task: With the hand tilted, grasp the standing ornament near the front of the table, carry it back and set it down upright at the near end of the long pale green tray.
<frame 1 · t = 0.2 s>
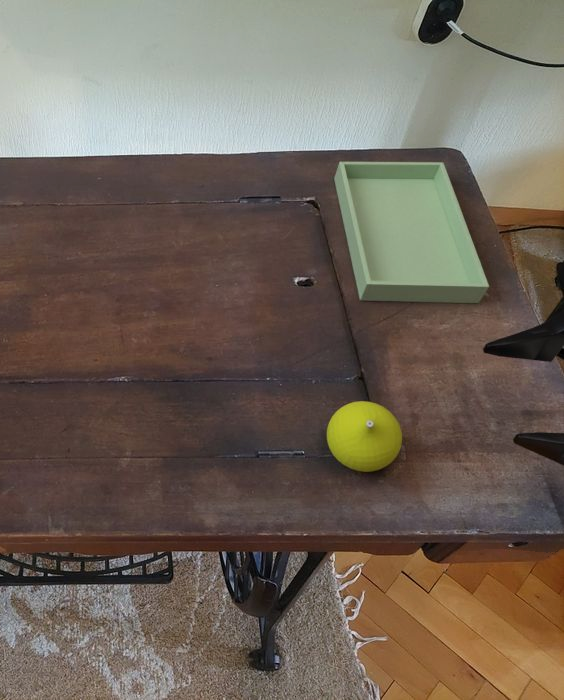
hand: (499, 391, 56), 14 cm above the table, tool horizontal, fingers open, 9 cm apart
ornament: (353, 453, 69), on the table
pale green tray: (400, 235, 87), on the table
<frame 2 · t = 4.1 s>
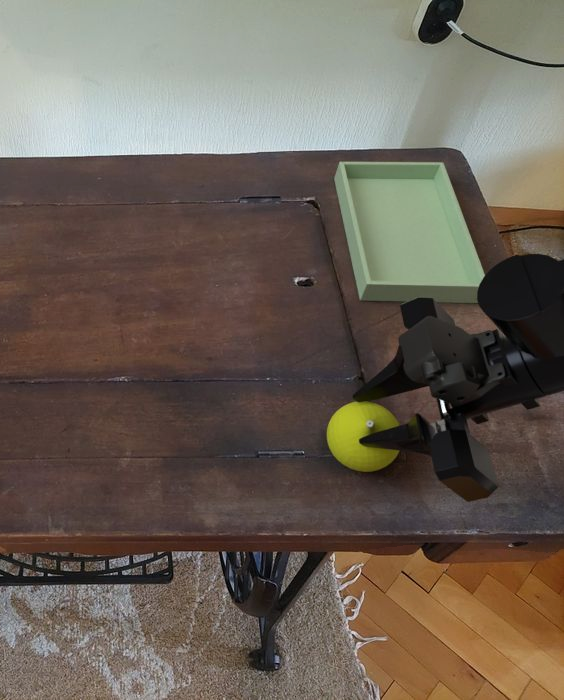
hand: (357, 420, 64), 7 cm above the table, tool tilted 45°, fingers closed on ornament, 5 cm apart
ornament: (353, 453, 69), on the table, touching gripper
when the fingers open (7 cm above the table, at t = 12.3 s): ornament stays where it is, resting on pale green tray.
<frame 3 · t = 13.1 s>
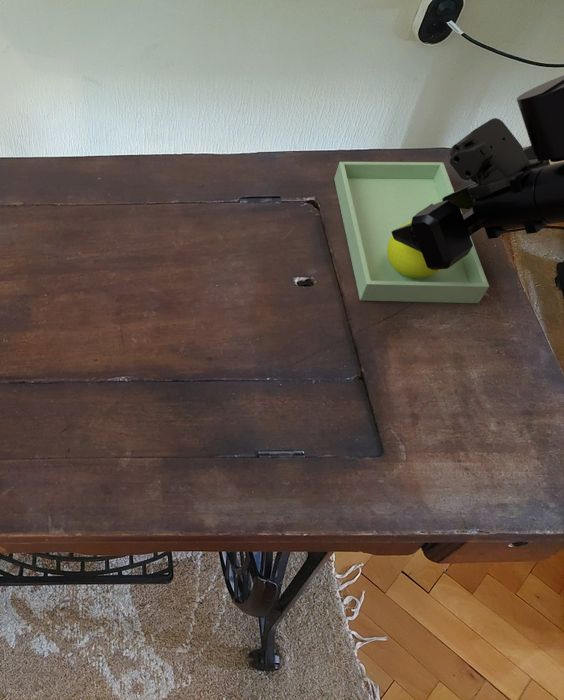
hand: (419, 218, 78), 8 cm above the table, tool tilted 45°, fingers open, 9 cm apart
ornament: (408, 270, 83), resting on pale green tray
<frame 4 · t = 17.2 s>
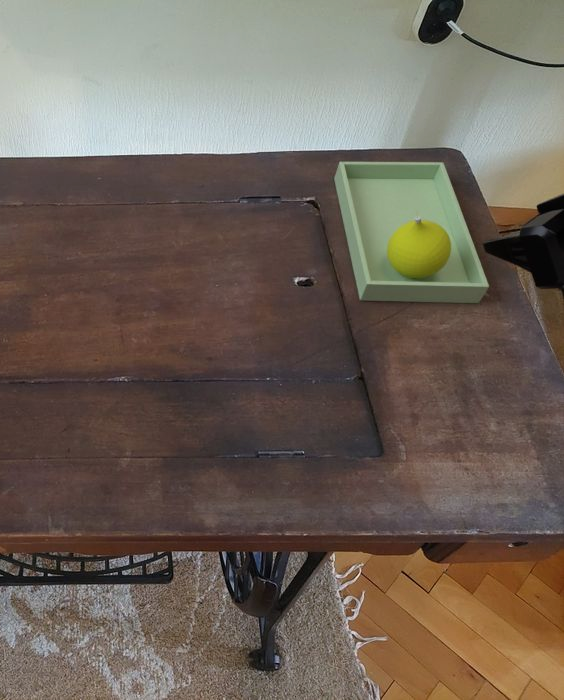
hand: (512, 227, 68), 14 cm above the table, tool tilted 45°, fingers open, 9 cm apart
nothing on the table moved.
at the end: ornament inside the target area in the pale green tray (6.6 cm from its centre), point 0.4 cm above the pale green tray's base; ornament tilted 0°; the gripper is holding nothing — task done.
